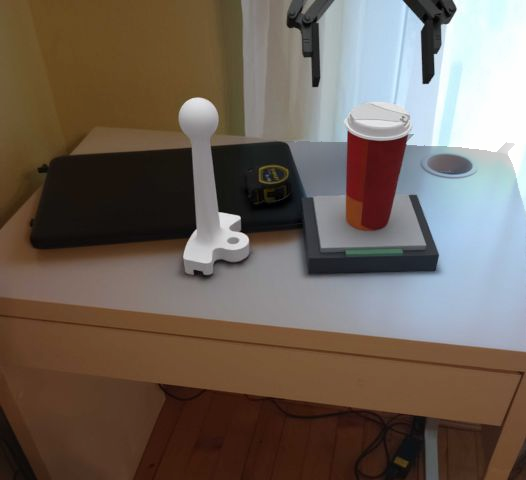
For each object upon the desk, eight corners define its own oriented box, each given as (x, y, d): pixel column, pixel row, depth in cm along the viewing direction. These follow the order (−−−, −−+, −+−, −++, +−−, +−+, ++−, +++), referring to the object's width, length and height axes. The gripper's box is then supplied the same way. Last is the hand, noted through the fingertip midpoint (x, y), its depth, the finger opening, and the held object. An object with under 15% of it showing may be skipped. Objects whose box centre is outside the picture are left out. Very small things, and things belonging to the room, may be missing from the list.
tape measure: (243, 186, 94) (242, 163, 91) (288, 182, 95) (288, 159, 92) (248, 211, 89) (247, 187, 87) (296, 207, 90) (297, 183, 87)
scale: (414, 209, 89) (417, 189, 87) (435, 270, 79) (440, 249, 77) (300, 212, 89) (301, 192, 87) (308, 273, 79) (309, 252, 77)
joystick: (211, 224, 87) (198, 77, 73) (262, 234, 85) (260, 85, 71) (177, 271, 80) (155, 118, 66) (232, 283, 78) (222, 128, 64)
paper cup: (404, 210, 83) (421, 106, 73) (387, 241, 78) (403, 134, 68) (348, 197, 85) (357, 95, 76) (327, 227, 81) (335, 121, 71)
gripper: (264, -115, 72) (269, 69, 72) (480, -120, 73) (486, 63, 73) (263, -71, 80) (268, 96, 80) (459, -76, 80) (465, 90, 80)
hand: (372, 81), depth 76 cm, fingers open, 13 cm apart
